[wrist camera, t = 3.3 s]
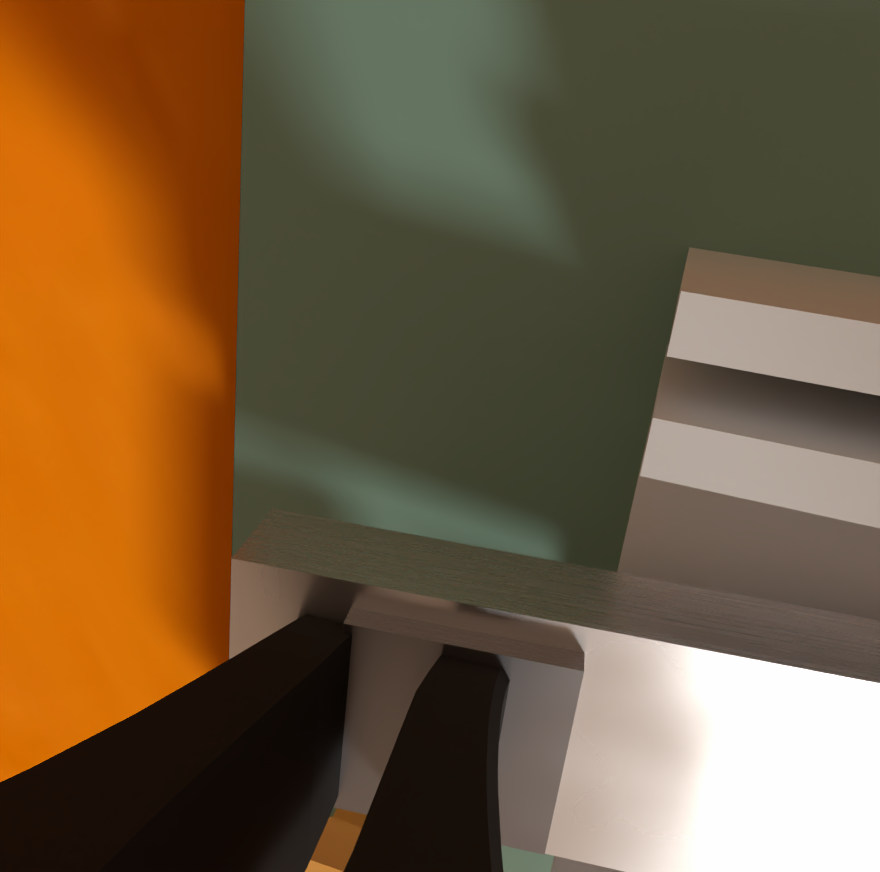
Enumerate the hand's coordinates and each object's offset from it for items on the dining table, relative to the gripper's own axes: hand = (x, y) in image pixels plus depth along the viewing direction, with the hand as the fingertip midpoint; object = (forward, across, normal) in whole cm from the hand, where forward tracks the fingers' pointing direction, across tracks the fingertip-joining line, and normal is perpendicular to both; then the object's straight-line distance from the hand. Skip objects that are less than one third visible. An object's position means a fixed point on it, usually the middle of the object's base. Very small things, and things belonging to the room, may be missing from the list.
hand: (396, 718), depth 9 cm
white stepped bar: (+2, -4, 0) cm, 5 cm away
